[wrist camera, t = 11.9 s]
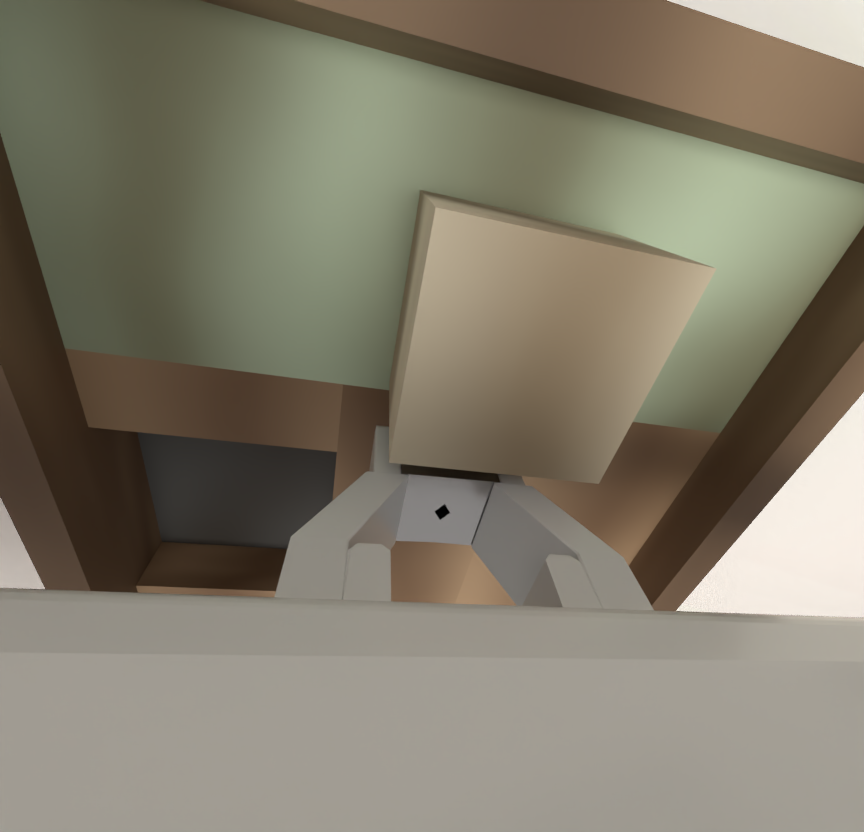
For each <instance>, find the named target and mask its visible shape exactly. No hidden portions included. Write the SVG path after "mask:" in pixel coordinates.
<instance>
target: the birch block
mask: <svg viewBox="0 0 864 832" xmlns="http://www.w3.org/2000/svg"><path fill="white" fill-rule="evenodd" d="M716 269H717V268H714V267H711V266H708V265H705V264H702V263H699V262H696V261H693V260H691V259H688V258H685V257H682V256H679V255H676V254H673V253H670V252H667V251H665V250H662V249H659V248H656V247H653V246H650V245H647V244H644V243H642V242H639V241H636V240H633V239H630V238H627V237H624V236H621V235H618V234H615V233H611V232H606V231H602V230H597V229H593V228H589V227H584V226H580V225H575V224H571V223H566V222H562V221H557V220H553V219H548V218H544V217H539V216H535V215H531V214H526V213H522V212H517V211H513V210H508V209H504V208H499V207H495V206H490V205H486V204H481V203H477V202H472V201H468V200H464V199H459V198H455V197H450V196H446V195H441V194H437V193H432V192H428V191H423V190H420V196H419V202H418V208H417V214H416V220H415V227H414V233H413V239H412V245H411V251H410V257H409V264H408V270H407V276H406V282H405V288H404V294H403V301H402V307H401V313H400V319H399V325H398V331H397V337H396V344H395V350H394V356H393V362H392V368H391V374H390V381H389V463H397V464H407V465H417V466H427V467H436V468H446V469H456V470H466V471H476V472H486V473H496V474H506V475H516V476H526V477H535V478H545V479H555V480H565V481H575V482H585V483H595V484H599V482H600V481H601V479H602V477H603V475H604V473H605V472H606V470H607V468H608V466H609V464H610V462H611V461H612V459H613V457H614V455H615V453H616V451H617V450H618V448H619V446H620V444H621V442H622V440H623V439H624V437H625V435H626V433H627V431H628V430H629V428H630V426H631V424H632V422H633V420H634V419H635V417H636V415H637V413H638V411H639V409H640V408H641V406H642V404H643V402H644V400H645V399H646V397H647V395H648V393H649V391H650V389H651V388H652V386H653V384H654V382H655V380H656V378H657V377H658V375H659V373H660V371H661V369H662V367H663V366H664V364H665V362H666V360H667V358H668V357H669V355H670V353H671V351H672V349H673V347H674V346H675V344H676V342H677V340H678V338H679V336H680V335H681V333H682V331H683V329H684V327H685V326H686V324H687V322H688V320H689V318H690V316H691V315H692V313H693V311H694V309H695V307H696V305H697V304H698V302H699V300H700V298H701V296H702V295H703V293H704V291H705V289H706V287H707V285H708V284H709V282H710V280H711V278H712V276H713V274H714V273H715V271H716Z"/></svg>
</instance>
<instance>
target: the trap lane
mask: <svg viewBox="0 0 864 832" xmlns="http://www.w3.org/2000/svg"><path fill="white" fill-rule="evenodd" d="M420 190H423V191H428V192H432V193H437V194H441V195H446V196H450V197H455V198H459V199H464V200H468V201H472V202H477V203H481V204H486V205H490V206H495V207H499V208H504V209H508V210H513V211H517V212H522V213H526V214H531V215H535V216H539V217H544V218H548V219H553V220H557V221H562V222H566V223H571V224H575V225H580V226H584V227H589V228H593V229H597V230H602V231H606V232H611V233H615V234H618V235H621V236H624V237H627V238H630V239H633V240H636V241H639V242H642V243H644V244H647V245H650V246H653V247H656V248H659V249H662V250H665V251H667V252H670V253H673V254H676V255H679V256H682V257H685V258H688V259H691V260H693V261H696V262H699V263H702V264H705V265H708V266H711V267H714V268H717V269H716V271H715V273H714V274H713V276H712V278H711V280H710V282H709V284H708V285H707V287H706V289H705V291H704V293H703V295H702V296H701V298H700V300H699V302H698V304H697V305H696V307H695V309H694V311H693V313H692V315H691V316H690V318H689V320H688V322H687V324H686V326H685V327H684V329H683V331H682V333H681V335H680V336H679V338H678V340H677V342H676V344H675V346H674V347H673V349H672V351H671V353H670V355H669V357H668V358H667V360H666V362H665V364H664V366H663V367H662V369H661V371H660V373H659V375H658V377H657V378H656V380H655V382H654V384H653V386H652V388H651V389H650V391H649V393H648V395H647V397H646V399H645V400H644V402H643V404H642V406H641V408H640V409H639V411H638V413H637V415H636V417H635V419H634V420H633V422H632V424H631V426H630V428H629V430H628V431H627V433H626V435H625V437H624V439H623V440H622V442H621V444H620V446H619V448H618V450H617V451H616V453H615V455H614V457H613V459H612V461H611V462H610V464H609V466H608V468H607V470H606V472H605V473H604V475H603V477H602V479H601V481H600V482H599V484H595V483H585V482H575V481H565V480H555V479H545V478H535V477H526V476H522V478H523V481H524V483H525V485H526V486H532V487H534V488H535V489H536V490H537V491H539V492H540V493H541V494H543V495H544V496H545V497H546V498H548V499H549V500H550V501H552V502H553V503H554V504H555V505H557V506H558V507H559V508H561V509H562V510H563V511H565V512H566V513H567V514H568V515H570V516H571V517H572V518H574V519H575V520H576V521H577V522H579V523H580V524H581V525H583V526H584V527H585V528H586V529H588V530H589V531H590V532H592V533H593V534H594V535H595V536H597V537H598V538H599V539H601V540H602V541H603V542H604V543H606V544H607V545H608V546H610V547H611V548H612V549H613V550H615V551H616V552H617V553H619V554H620V555H621V556H622V557H624V559H625V561H626V562H627V564H628V566H629V568H630V569H631V571H632V573H633V575H634V576H635V578H636V580H637V581H638V583H639V585H640V587H641V588H642V590H643V592H644V594H645V595H646V597H647V599H648V600H649V602H650V604H651V606H652V607H653V609H654V611H676V610H677V609H678V607H679V606H680V605H681V604H682V603H683V602H684V600H685V599H686V598H687V597H688V596H689V595H690V593H691V592H692V591H693V590H694V589H695V588H696V586H697V585H698V584H699V583H700V582H701V581H702V579H703V578H704V577H705V576H706V575H707V574H708V573H709V571H710V570H711V569H712V568H713V567H714V566H715V564H716V563H717V562H718V561H719V560H720V559H721V557H722V556H723V555H724V554H725V553H726V552H727V550H728V549H729V548H730V547H731V546H732V545H733V543H734V542H735V541H736V540H737V539H738V538H739V536H740V535H741V534H742V533H743V532H744V531H745V530H746V528H747V527H748V526H749V525H750V524H751V523H752V521H753V520H754V519H755V518H756V517H757V516H758V514H759V513H760V512H761V511H762V510H763V509H764V507H765V506H766V505H767V504H768V503H769V502H770V500H771V499H772V498H773V497H774V496H775V495H776V493H777V492H778V491H779V490H780V489H781V488H782V487H783V485H784V484H785V483H786V482H787V481H788V480H789V478H790V477H791V476H792V475H793V474H794V473H795V471H796V470H797V469H798V468H799V467H800V466H801V464H802V463H803V462H804V461H805V460H806V459H807V457H808V456H809V455H810V454H811V453H812V452H813V450H814V449H815V448H816V447H817V446H818V445H819V444H820V442H821V441H822V440H823V439H824V438H825V437H826V435H827V434H828V433H829V432H830V431H831V430H832V428H833V427H834V426H835V425H836V424H837V423H838V421H839V420H840V419H841V418H842V417H843V416H844V414H845V413H846V412H847V411H848V410H849V409H850V408H851V406H852V405H853V404H854V403H855V402H856V401H857V399H858V398H859V397H860V396H861V395H862V394H863V392H864V67H861V66H858V65H855V64H852V63H849V62H846V61H843V60H840V59H837V58H834V57H831V56H829V55H826V54H823V53H820V52H817V51H814V50H811V49H808V48H805V47H802V46H799V45H796V44H793V43H790V42H787V41H784V40H781V39H778V38H776V37H773V36H770V35H767V34H764V33H761V32H758V31H755V30H752V29H749V28H746V27H743V26H740V25H737V24H734V23H731V22H728V21H725V20H722V19H720V18H717V17H714V16H711V15H708V14H705V13H702V12H699V11H696V10H693V9H690V8H687V7H684V6H681V5H678V4H675V3H672V2H669V1H667V0H0V497H1V499H2V501H3V503H4V505H5V507H6V509H7V511H8V513H9V515H10V517H11V519H12V521H13V523H14V526H15V528H16V530H17V532H18V534H19V536H20V538H21V540H22V542H23V544H24V546H25V548H26V550H27V552H28V554H29V556H30V558H31V560H32V562H33V564H34V566H35V568H36V570H37V572H38V575H39V577H40V579H41V581H42V583H43V585H44V587H45V589H46V590H75V591H104V592H133V593H162V594H191V595H220V596H249V597H275V593H276V589H277V586H278V582H279V578H280V575H281V571H282V567H283V564H284V560H285V556H286V552H287V549H288V545H289V541H290V538H291V536H292V535H293V534H295V533H296V532H297V531H298V530H299V529H300V528H301V527H303V526H304V525H305V524H306V523H307V522H308V521H310V520H311V519H312V518H313V517H314V516H315V515H317V514H318V513H319V512H320V511H321V510H322V509H324V508H325V507H326V506H327V505H328V504H329V503H331V502H332V501H333V500H334V499H335V498H336V497H337V496H339V495H340V494H341V493H342V492H343V491H344V490H346V489H347V488H348V487H349V486H350V485H351V484H353V483H354V482H355V481H356V480H357V479H358V478H360V477H361V476H362V475H363V474H364V473H365V472H367V471H369V469H370V462H371V455H372V448H373V441H374V435H375V429H376V425H377V426H387V427H389V381H390V374H391V368H392V362H393V356H394V350H395V344H396V337H397V331H398V325H399V319H400V313H401V307H402V301H403V294H404V288H405V282H406V276H407V270H408V264H409V257H410V251H411V245H412V239H413V233H414V227H415V220H416V214H417V208H418V202H419V196H420ZM471 547H472V546H471V545H460V544H449V543H437V542H415V541H395V544H394V545H393V547H392V548H391V550H390V551H391V601H395V602H424V603H453V604H482V605H511V606H517V605H516V604H515V603H514V601H513V600H512V599H511V597H510V596H509V595H508V594H507V592H506V591H505V590H504V589H503V587H502V586H501V585H500V583H499V582H498V581H497V580H496V578H495V577H494V576H493V574H492V573H491V572H490V571H489V569H488V568H487V567H486V565H485V564H484V563H483V562H482V560H481V559H480V558H479V556H478V555H477V554H476V553H475V551H474V550H473V549H472V548H471Z"/></svg>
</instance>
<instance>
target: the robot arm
mask: <svg viewBox="0 0 864 832" xmlns="http://www.w3.org/2000/svg"><path fill="white" fill-rule="evenodd" d="M395 541H415V542H437V543H449V544H460V545H471V546H472V547H471V548H472V549H473V550H474V551H475V553H476V554H477V555H478V556H479V558H480V559H481V560H482V562H483V563H484V564H485V565H486V567H487V568H488V569H489V571H490V572H491V573H492V574H493V576H494V577H495V578H496V580H497V581H498V582H499V583H500V585H501V586H502V587H503V589H504V590H505V591H506V592H507V594H508V595H509V596H510V597H511V599H512V600H513V601H514V603H515V604H516V605H517V606H511V605H482V604H453V603H424V602H395V601H391V551H390V550H391V548H392V547H393V545H394V544H395ZM0 832H864V618H857V617H828V616H800V615H771V614H741V613H712V612H682V611H654V609H653V607H652V606H651V604H650V602H649V600H648V599H647V597H646V595H645V594H644V592H643V590H642V588H641V587H640V585H639V583H638V581H637V580H636V578H635V576H634V575H633V573H632V571H631V569H630V568H629V566H628V564H627V562H626V561H625V559H624V557H622V556H621V555H620V554H619V553H617V552H616V551H615V550H613V549H612V548H611V547H610V546H608V545H607V544H606V543H604V542H603V541H602V540H601V539H599V538H598V537H597V536H595V535H594V534H593V533H592V532H590V531H589V530H588V529H586V528H585V527H584V526H583V525H581V524H580V523H579V522H577V521H576V520H575V519H574V518H572V517H571V516H570V515H568V514H567V513H566V512H565V511H563V510H562V509H561V508H559V507H558V506H557V505H555V504H554V503H553V502H552V501H550V500H549V499H548V498H546V497H545V496H544V495H543V494H541V493H540V492H539V491H537V490H536V489H535V488H534V487H532V486H526V485H525V483H524V481H523V478H522V476H516V475H506V474H496V473H486V472H476V471H466V470H456V469H446V468H436V467H427V466H417V465H407V464H397V463H389V427H387V426H377V425H376V429H375V435H374V441H373V448H372V455H371V462H370V469H369V471H367V472H365V473H364V474H363V475H362V476H361V477H360V478H358V479H357V480H356V481H355V482H354V483H353V484H351V485H350V486H349V487H348V488H347V489H346V490H344V491H343V492H342V493H341V494H340V495H339V496H337V497H336V498H335V499H334V500H333V501H332V502H331V503H329V504H328V505H327V506H326V507H325V508H324V509H322V510H321V511H320V512H319V513H318V514H317V515H315V516H314V517H313V518H312V519H311V520H310V521H308V522H307V523H306V524H305V525H304V526H303V527H301V528H300V529H299V530H298V531H297V532H296V533H295V534H293V535H292V536H291V538H290V541H289V545H288V549H287V552H286V556H285V560H284V564H283V567H282V571H281V575H280V578H279V582H278V586H277V589H276V593H275V597H249V596H220V595H191V594H162V593H133V592H104V591H75V590H46V589H17V588H0Z"/></svg>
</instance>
